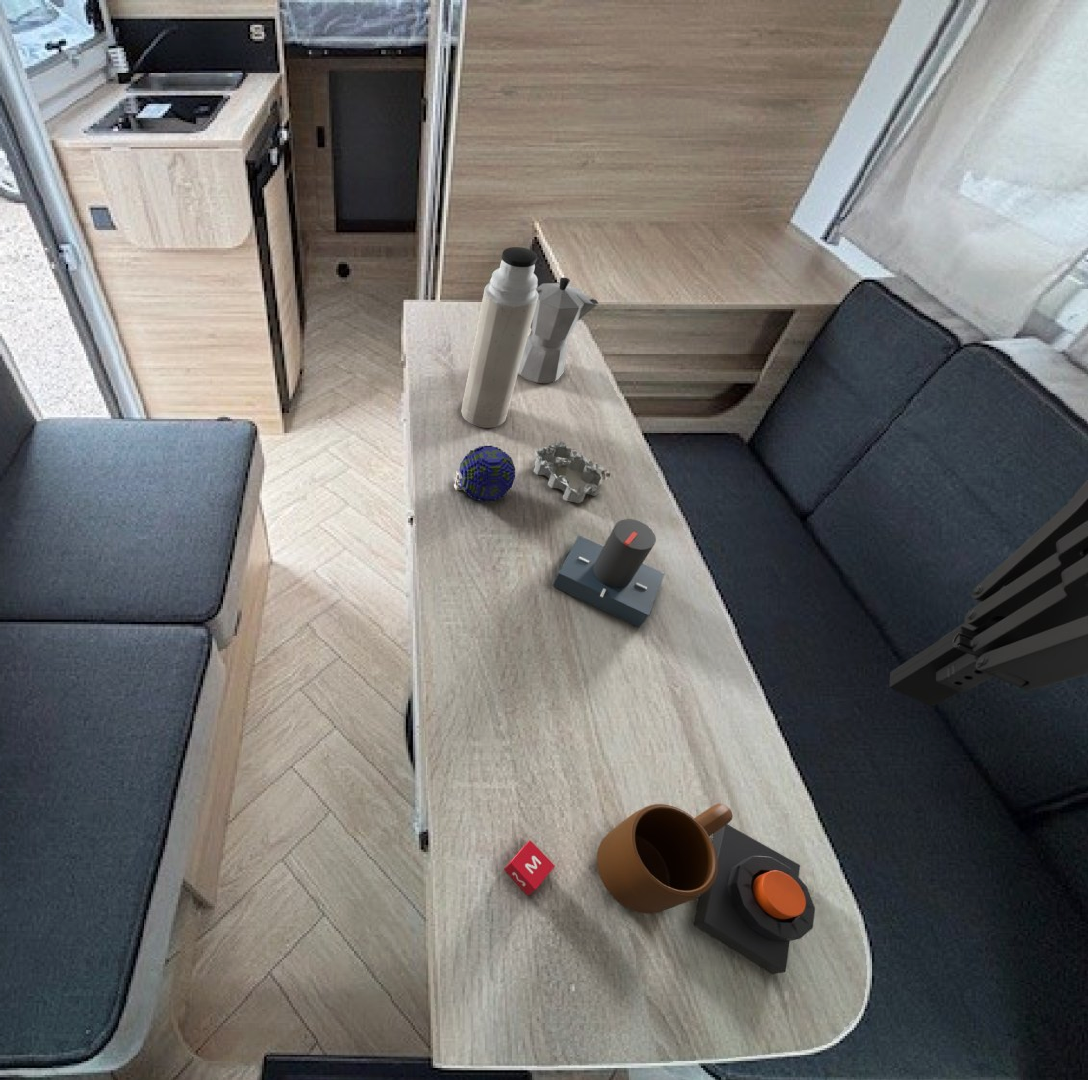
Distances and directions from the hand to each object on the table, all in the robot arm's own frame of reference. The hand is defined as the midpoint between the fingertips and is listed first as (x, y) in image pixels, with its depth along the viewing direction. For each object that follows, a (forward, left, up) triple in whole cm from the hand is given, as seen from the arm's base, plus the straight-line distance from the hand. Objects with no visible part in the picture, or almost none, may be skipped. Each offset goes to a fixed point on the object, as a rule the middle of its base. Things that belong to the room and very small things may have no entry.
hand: (911, 689), depth 43 cm
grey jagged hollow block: (+32, -37, -27) cm, 56 cm away
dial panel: (+20, -20, -27) cm, 39 cm away
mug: (+6, +10, -27) cm, 29 cm away
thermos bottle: (+50, -45, -27) cm, 73 cm away
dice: (+16, +18, -27) cm, 36 cm away
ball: (+42, -27, -27) cm, 57 cm away
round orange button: (-4, +9, -23) cm, 25 cm away
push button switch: (-3, +9, -26) cm, 28 cm away
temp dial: (+20, -20, -23) cm, 37 cm away
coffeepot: (+48, -63, -27) cm, 84 cm away
